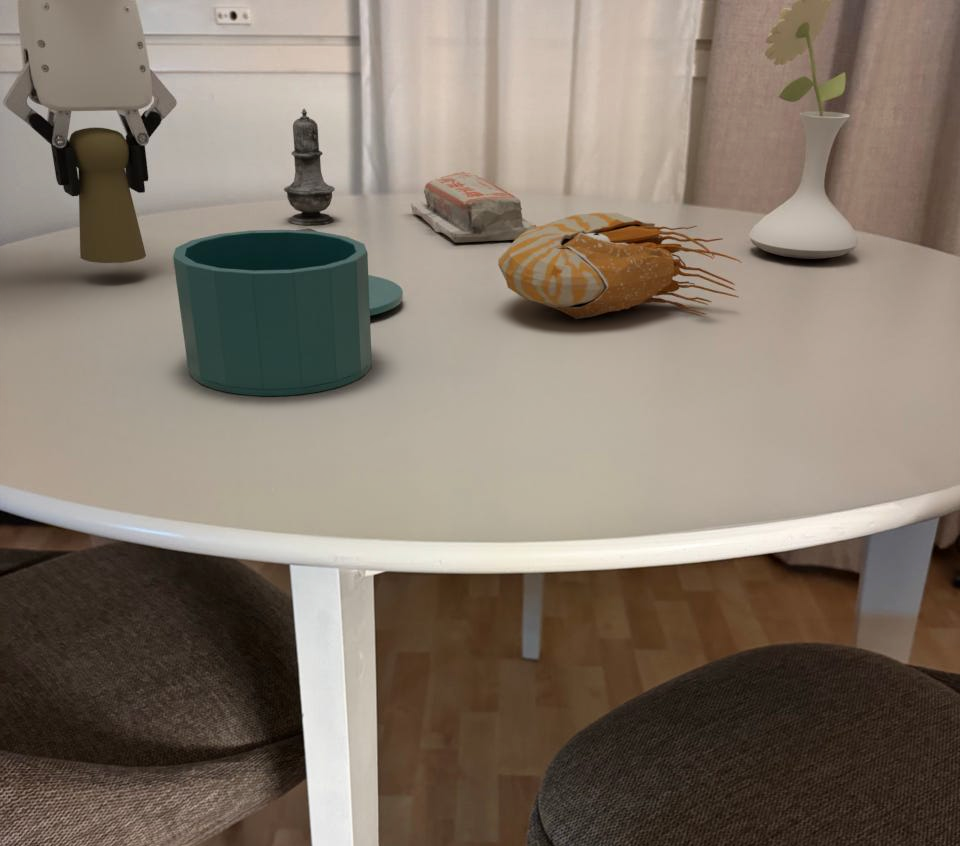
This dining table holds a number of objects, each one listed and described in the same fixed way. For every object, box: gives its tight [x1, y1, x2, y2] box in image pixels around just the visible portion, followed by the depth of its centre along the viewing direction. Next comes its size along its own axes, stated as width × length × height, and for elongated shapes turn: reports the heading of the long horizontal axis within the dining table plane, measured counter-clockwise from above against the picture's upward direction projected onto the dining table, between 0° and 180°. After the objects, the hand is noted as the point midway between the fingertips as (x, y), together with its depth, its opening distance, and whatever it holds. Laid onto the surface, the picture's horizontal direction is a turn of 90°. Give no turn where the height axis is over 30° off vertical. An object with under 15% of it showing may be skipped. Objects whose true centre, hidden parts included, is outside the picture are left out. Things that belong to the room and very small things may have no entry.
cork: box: [68, 127, 147, 264], centre depth 98 cm, size 6×6×11 cm
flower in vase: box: [748, 0, 859, 260], centre depth 108 cm, size 13×11×25 cm
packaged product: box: [410, 171, 537, 244], centre depth 124 cm, size 18×5×10 cm
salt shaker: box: [283, 108, 335, 226], centre depth 123 cm, size 6×6×12 cm
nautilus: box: [497, 212, 743, 320], centre depth 93 cm, size 8×22×15 cm
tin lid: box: [299, 228, 404, 317], centre depth 94 cm, size 15×15×6 cm
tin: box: [172, 229, 373, 397], centre depth 79 cm, size 14×14×8 cm
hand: (104, 189), depth 98 cm, fingers closed on cork, 5 cm apart
